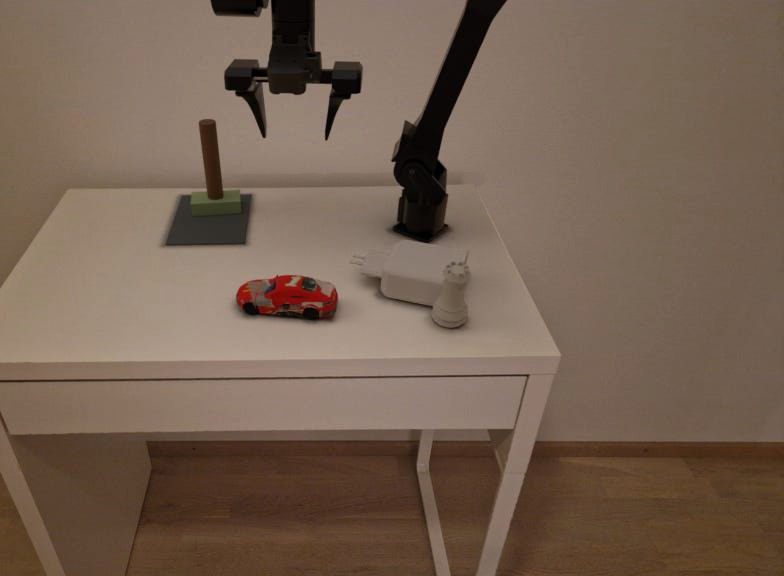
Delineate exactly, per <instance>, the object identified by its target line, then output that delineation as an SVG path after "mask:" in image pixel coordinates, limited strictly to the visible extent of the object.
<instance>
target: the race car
mask: <svg viewBox="0 0 784 576" xmlns="http://www.w3.org/2000/svg"><path fill="white" fill-rule="evenodd" d="M235 299H236V303H237V306H238V307H239V308H240V310H242V311H243V310H244V312H245V313H246V314H248V315H251V316H255V315H256V314H264V315H265V314H267V315H276V316H277V315H279V316H290V317H300V318H301V317H305V318H306V319H307V320H310V321H315V320H316V319H318V317H319V318H320V319H321V318H327V317H329V316H331V315H333V314H334V313H336V311H337V307H338V301H339V294H338V292H337V288H336V286H335V285H334V284H333V283H332V282H328V281H325V280H321V279H319V278H314V277H309V276H304V275H299V274H282V275H279V274H277V275H276V276H274V277H272V278H263V279H262V278H261V279H252V280H249V281H246V282H245V283H243V284H242V285H240V286H239V287H238V290H237V292H236V294H235Z"/></svg>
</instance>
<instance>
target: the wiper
mask: <svg viewBox="0 0 784 576" xmlns="http://www.w3.org/2000/svg"><path fill="white" fill-rule="evenodd" d="M198 129H199V137H200V145H201V154H202V160H203V161H202V162H203V171H204V178H205V187H206V191H191V194H190V195H191V211H192V216H207V215H225V214H241V197H240V194H241V189H227V190H224V187H223V175H222V168H221V167H222V166H221V158H220V157H221V156H220V150H219V149H220V148H219V139H218V129H217V121H216V119H213V118H204V119H200V120H199V121H198Z"/></svg>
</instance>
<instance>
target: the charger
mask: <svg viewBox="0 0 784 576" xmlns="http://www.w3.org/2000/svg"><path fill="white" fill-rule="evenodd" d="M468 257H469V250H467V249H461V248H456V247H451V246H445V245H439V244H435V243H434V244H432V243H429V242H423V241H417V240H410V239H402V240H399V241H397V242H395V244H394V246H393V247H392V249H391V251H390V253H387V252H382V251H376V250H368V251H367V254H366V255H362V254H356V253H353V255H352V258H356V259H360V260H363V261H357V260H352V259H349V261H348V263H349V264H352V265H355V266H356V265H357V266H360V271H359V274H360V275H363V276H369V277H374V278H379V279H381V280H380V281H381V282H380V292H381V293H382V294H383V296H384V297H386V298H391V299H396V300H400V301H404V302H409V303H415V304H420V305H425V306H430V307H433V305H434V303H435V302H436V300H437V299H438V298H439V297H440V296H441V294H442V291H443V288H444V285H443V280H444V279H445V278H444V276H443V275H442V271H443V269H444V268H445V267H446V266H447V264H448V263H450V264H451V261H454V260H455V261H456V263H457V264H459V261H463V265H465V264H467V261H468Z"/></svg>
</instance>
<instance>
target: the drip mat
mask: <svg viewBox="0 0 784 576" xmlns="http://www.w3.org/2000/svg"><path fill="white" fill-rule="evenodd" d="M191 195H192V194H182V195H181V197H180V199H179V200H180V201H179V204H178V206H177V209H176V211H175V214H174V218H173V221H172V223H171V225H170V229H169V232H168V235H167V237H166V241H165V244H164V245H165V246H199V245H203V246H204V245H245V244H246V243H245V242H246V238H247V237H246V235H247V229H248V222H249V216H250V215H249V214H250V207H251V199H252V194H251V193H249V194H242V193H240V197H241V214H225V215H207V216H192V211H191Z"/></svg>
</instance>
